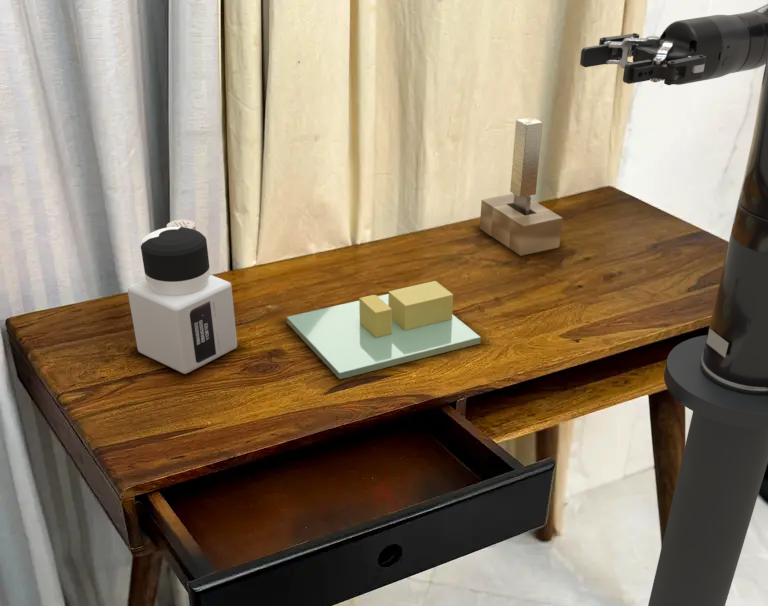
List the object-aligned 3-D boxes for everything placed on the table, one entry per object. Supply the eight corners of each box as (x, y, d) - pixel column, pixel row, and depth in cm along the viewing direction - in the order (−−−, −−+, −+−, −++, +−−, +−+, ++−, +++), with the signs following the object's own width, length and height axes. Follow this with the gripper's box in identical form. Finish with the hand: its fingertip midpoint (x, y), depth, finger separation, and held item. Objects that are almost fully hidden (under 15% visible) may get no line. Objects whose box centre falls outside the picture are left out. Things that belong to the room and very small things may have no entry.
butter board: (286, 323, 111) (286, 316, 110) (418, 292, 117) (419, 286, 117) (339, 379, 101) (339, 373, 101) (480, 343, 107) (481, 336, 107)
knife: (504, 235, 131) (514, 118, 121) (520, 232, 131) (530, 116, 122) (517, 243, 129) (528, 125, 119) (532, 240, 129) (544, 122, 120)
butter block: (388, 315, 111) (388, 291, 109) (434, 304, 113) (435, 280, 111) (404, 330, 108) (405, 305, 106) (452, 319, 110) (453, 294, 108)
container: (239, 348, 106) (227, 232, 98) (185, 376, 102) (168, 257, 94) (191, 326, 110) (176, 213, 102) (136, 352, 105) (116, 236, 97)
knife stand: (479, 228, 132) (481, 199, 130) (516, 220, 135) (519, 192, 132) (520, 256, 125) (523, 225, 123) (559, 247, 128) (563, 217, 125)
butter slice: (359, 322, 109) (359, 297, 108) (375, 318, 110) (375, 294, 108) (375, 337, 107) (375, 312, 105) (392, 333, 107) (392, 308, 105)
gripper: (671, 6, 130) (571, 21, 124) (750, 28, 120) (646, 45, 114) (661, 66, 135) (565, 83, 129) (736, 93, 125) (636, 112, 119)
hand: (603, 65), depth 121 cm, fingers open, 8 cm apart
